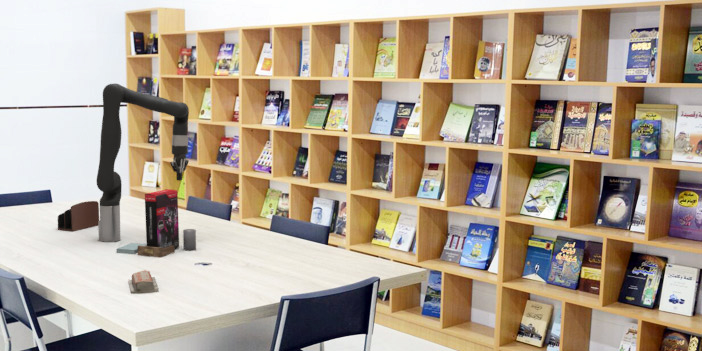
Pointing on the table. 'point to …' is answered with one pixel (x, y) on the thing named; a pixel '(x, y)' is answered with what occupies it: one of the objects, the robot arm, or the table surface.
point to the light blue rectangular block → (130, 248)
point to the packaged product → (143, 282)
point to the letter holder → (79, 217)
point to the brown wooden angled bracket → (155, 251)
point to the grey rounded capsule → (189, 239)
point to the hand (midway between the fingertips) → (179, 180)
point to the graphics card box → (162, 218)
